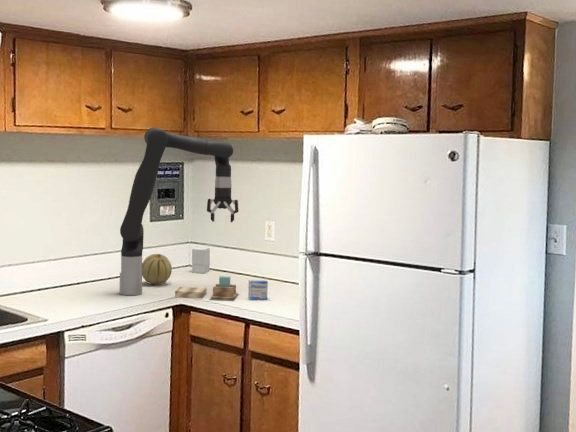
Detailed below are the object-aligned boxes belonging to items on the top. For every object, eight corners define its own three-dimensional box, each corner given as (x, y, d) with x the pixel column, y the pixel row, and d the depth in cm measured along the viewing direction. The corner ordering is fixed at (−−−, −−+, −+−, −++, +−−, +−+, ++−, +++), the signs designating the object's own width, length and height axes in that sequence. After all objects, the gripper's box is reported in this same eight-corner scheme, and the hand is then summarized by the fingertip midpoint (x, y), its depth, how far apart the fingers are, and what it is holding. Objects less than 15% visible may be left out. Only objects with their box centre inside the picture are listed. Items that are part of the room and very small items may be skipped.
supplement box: (210, 271, 403) (210, 247, 402) (204, 273, 396) (205, 249, 395) (197, 270, 405) (197, 247, 404) (191, 272, 398) (191, 248, 397)
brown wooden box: (210, 299, 332) (210, 287, 331) (215, 293, 344) (215, 282, 343) (233, 300, 331) (233, 288, 330) (237, 294, 343) (237, 283, 342)
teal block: (218, 295, 336) (219, 277, 335) (220, 293, 339) (220, 276, 338) (229, 295, 335) (229, 277, 335) (230, 294, 338) (230, 276, 338)
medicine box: (249, 300, 332) (250, 281, 331) (248, 298, 336) (248, 279, 336) (267, 300, 334) (267, 281, 333) (265, 298, 338) (266, 279, 337)
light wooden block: (175, 297, 334) (175, 291, 334) (180, 293, 344) (180, 286, 344) (202, 299, 333) (202, 292, 333) (206, 294, 343) (206, 288, 343)
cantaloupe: (155, 280, 374) (156, 250, 373) (178, 284, 366) (178, 253, 365) (133, 284, 362) (134, 253, 361) (156, 288, 354) (156, 256, 352)
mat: (208, 300, 330) (208, 300, 330) (215, 293, 346) (215, 292, 346) (233, 301, 329) (233, 301, 329) (239, 294, 345) (239, 293, 345)
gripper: (206, 186, 345) (205, 222, 346) (237, 187, 343) (236, 223, 345) (209, 185, 352) (208, 220, 354) (239, 186, 351) (239, 221, 352)
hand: (222, 221), depth 349 cm, fingers open, 8 cm apart
